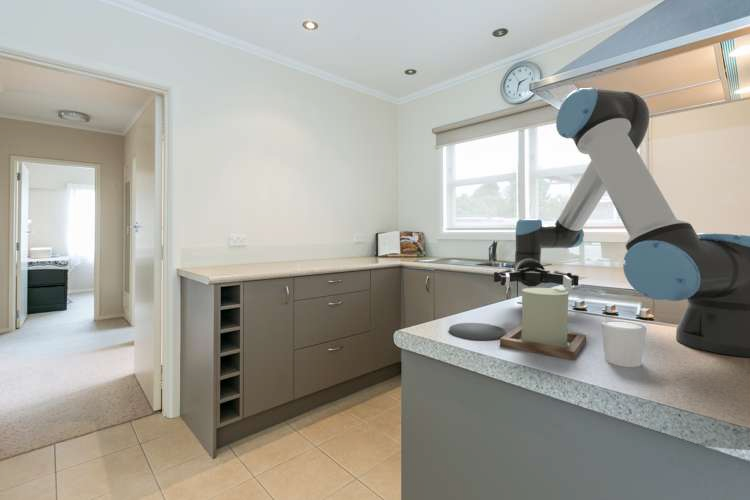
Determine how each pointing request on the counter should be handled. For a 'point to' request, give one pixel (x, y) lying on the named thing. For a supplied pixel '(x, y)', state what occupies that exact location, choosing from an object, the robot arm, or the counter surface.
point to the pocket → (568, 353)
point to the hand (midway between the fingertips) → (538, 283)
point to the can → (545, 316)
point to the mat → (477, 331)
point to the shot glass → (623, 343)
